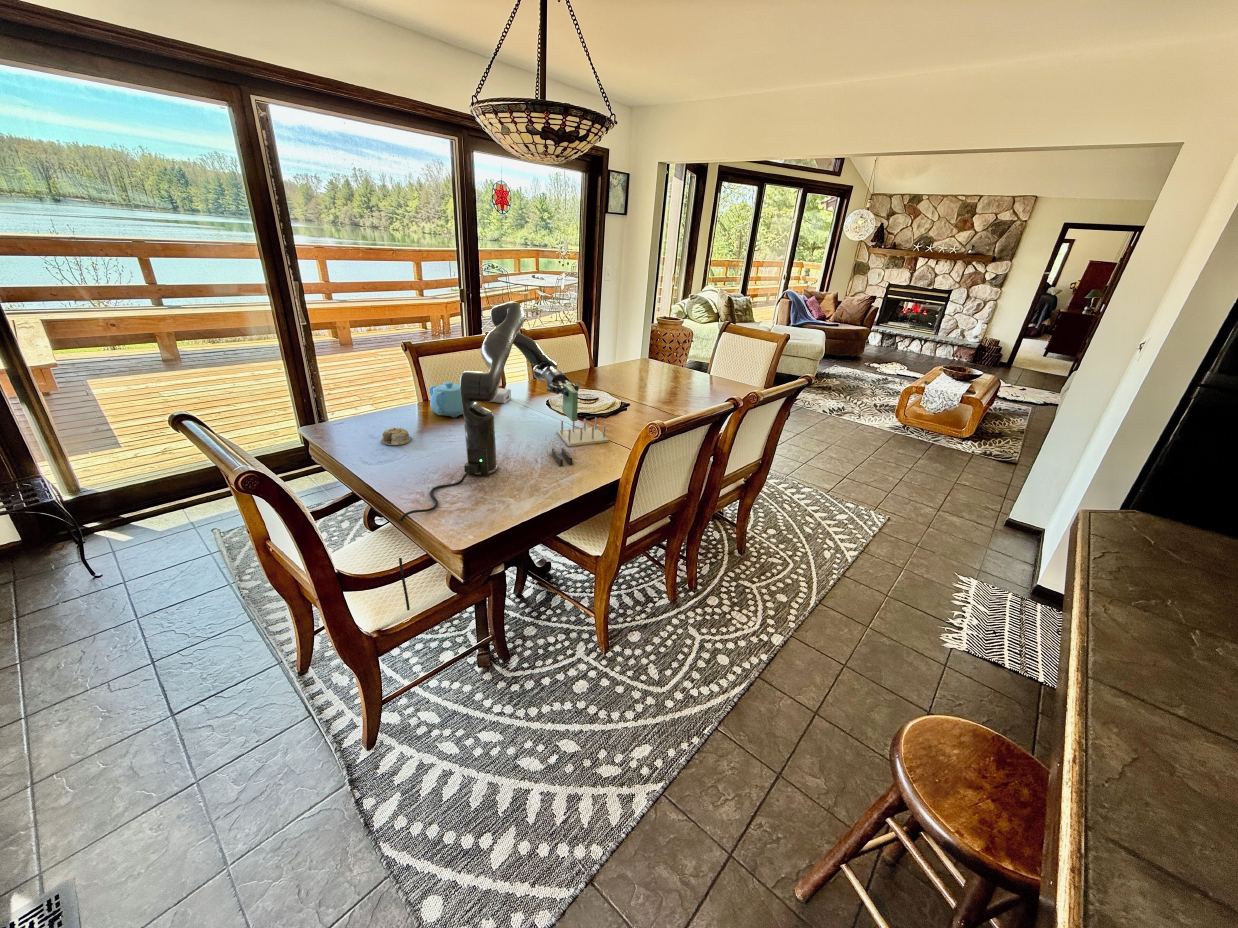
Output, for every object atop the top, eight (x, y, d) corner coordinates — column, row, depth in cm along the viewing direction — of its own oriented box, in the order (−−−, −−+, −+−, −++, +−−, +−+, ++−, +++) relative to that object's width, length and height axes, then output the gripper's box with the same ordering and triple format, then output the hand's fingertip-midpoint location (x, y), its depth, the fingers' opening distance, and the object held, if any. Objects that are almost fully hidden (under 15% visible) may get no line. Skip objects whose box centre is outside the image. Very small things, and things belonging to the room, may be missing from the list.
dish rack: (608, 441, 189) (609, 427, 186) (568, 446, 182) (569, 431, 180) (595, 429, 200) (596, 415, 197) (557, 433, 194) (557, 419, 191)
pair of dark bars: (572, 464, 168) (572, 458, 167) (560, 466, 166) (560, 459, 165) (563, 453, 176) (563, 447, 175) (551, 454, 175) (551, 448, 174)
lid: (577, 420, 177) (578, 392, 172) (572, 421, 176) (572, 392, 171) (567, 410, 186) (568, 383, 181) (562, 411, 185) (563, 383, 180)
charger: (481, 395, 231) (511, 398, 229) (473, 400, 223) (504, 404, 221) (480, 385, 229) (510, 388, 227) (472, 390, 221) (503, 394, 219)
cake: (399, 434, 183) (398, 421, 181) (416, 441, 179) (416, 428, 177) (375, 440, 175) (374, 426, 173) (393, 448, 171) (392, 433, 169)
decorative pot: (469, 405, 216) (467, 376, 211) (473, 417, 203) (471, 386, 197) (430, 408, 210) (427, 378, 205) (432, 420, 197) (429, 388, 191)
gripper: (539, 372, 186) (553, 385, 172) (573, 370, 191) (589, 382, 177) (539, 390, 189) (553, 405, 175) (573, 388, 194) (588, 402, 180)
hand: (571, 393), depth 176 cm, fingers closed on lid, 2 cm apart
